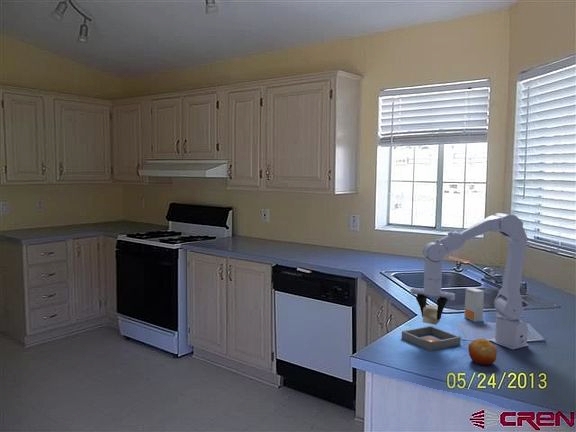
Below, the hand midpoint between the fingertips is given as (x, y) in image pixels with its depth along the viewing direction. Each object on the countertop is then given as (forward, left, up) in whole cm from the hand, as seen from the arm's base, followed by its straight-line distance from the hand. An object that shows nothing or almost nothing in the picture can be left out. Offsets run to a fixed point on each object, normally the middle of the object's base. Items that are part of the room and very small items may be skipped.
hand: (431, 317), depth 164 cm
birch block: (0, 0, -1) cm, 1 cm away
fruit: (-21, 0, -8) cm, 23 cm away
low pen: (0, 0, -8) cm, 8 cm away
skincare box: (+11, -34, -8) cm, 37 cm away
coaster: (0, 0, -8) cm, 8 cm away
